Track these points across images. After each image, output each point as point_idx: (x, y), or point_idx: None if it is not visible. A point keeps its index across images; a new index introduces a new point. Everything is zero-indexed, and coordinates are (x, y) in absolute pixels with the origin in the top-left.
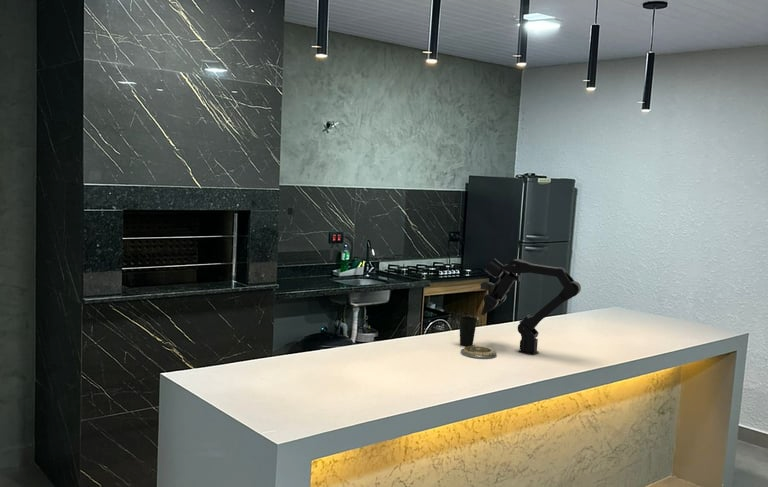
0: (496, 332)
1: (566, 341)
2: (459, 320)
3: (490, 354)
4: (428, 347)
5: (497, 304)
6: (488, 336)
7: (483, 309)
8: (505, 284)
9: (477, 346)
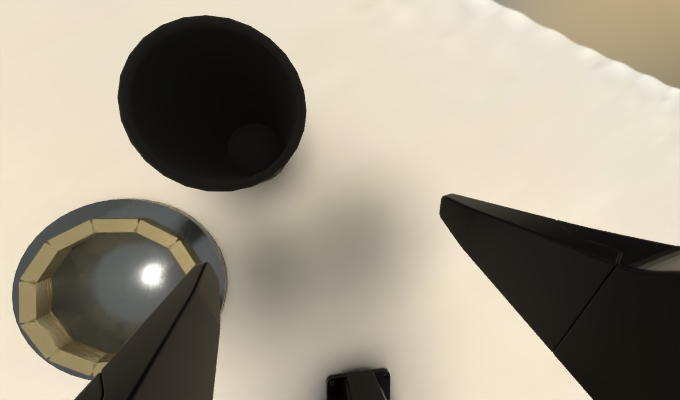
0: (554, 135)
1: None
2: (174, 45)
3: None
4: (27, 31)
5: (563, 348)
6: (474, 145)
7: (142, 340)
8: None
9: (174, 255)
